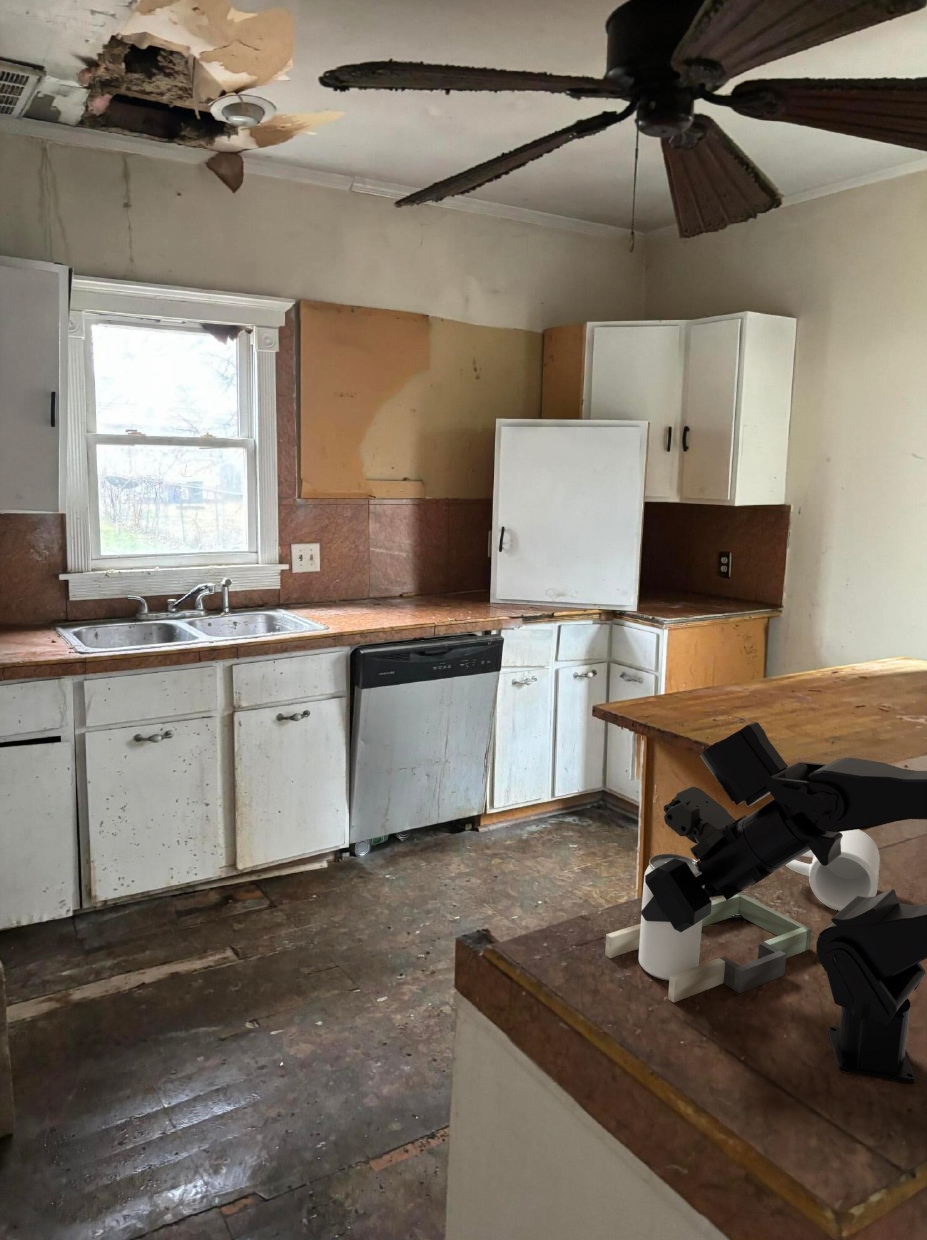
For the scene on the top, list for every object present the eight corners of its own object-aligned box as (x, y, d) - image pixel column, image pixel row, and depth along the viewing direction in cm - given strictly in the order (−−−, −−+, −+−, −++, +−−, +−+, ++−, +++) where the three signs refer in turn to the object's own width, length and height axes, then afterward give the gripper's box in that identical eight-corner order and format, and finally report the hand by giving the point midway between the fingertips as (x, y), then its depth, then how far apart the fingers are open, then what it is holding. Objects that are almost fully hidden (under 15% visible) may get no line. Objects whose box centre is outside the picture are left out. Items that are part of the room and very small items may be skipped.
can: (693, 954, 100) (700, 854, 99) (702, 985, 94) (711, 879, 92) (635, 949, 101) (642, 850, 99) (641, 980, 95) (648, 874, 93)
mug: (876, 888, 119) (882, 832, 118) (874, 919, 110) (880, 859, 109) (782, 869, 124) (787, 814, 123) (773, 897, 115) (778, 839, 114)
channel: (689, 1014, 89) (691, 991, 88) (592, 946, 101) (593, 926, 101) (826, 958, 100) (828, 937, 100) (723, 903, 113) (725, 885, 113)
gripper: (757, 755, 98) (663, 821, 107) (669, 793, 85) (570, 865, 94) (821, 843, 94) (717, 905, 103) (739, 898, 80) (628, 963, 90)
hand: (660, 906), depth 97 cm, fingers closed on can, 6 cm apart
